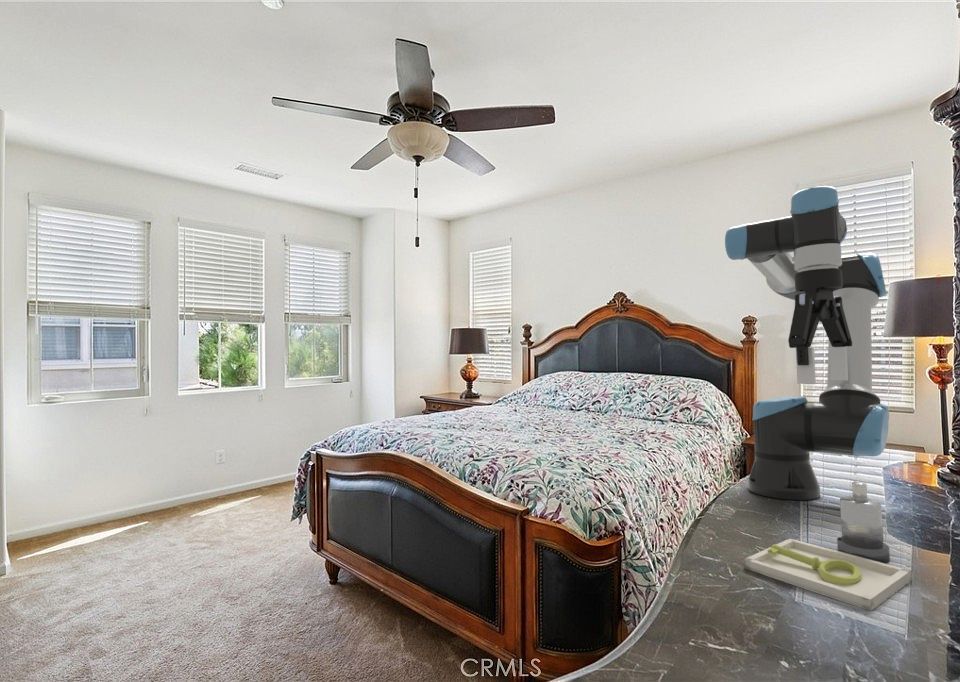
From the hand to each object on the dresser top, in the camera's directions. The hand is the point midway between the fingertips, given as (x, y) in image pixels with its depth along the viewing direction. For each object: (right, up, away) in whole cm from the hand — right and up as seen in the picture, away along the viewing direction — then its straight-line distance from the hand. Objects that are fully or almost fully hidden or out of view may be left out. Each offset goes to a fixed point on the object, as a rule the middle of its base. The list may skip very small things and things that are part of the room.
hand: (823, 382), depth 95 cm
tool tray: (-11, -29, -17) cm, 35 cm away
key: (-12, -28, -16) cm, 35 cm away
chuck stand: (0, -28, -10) cm, 30 cm away
